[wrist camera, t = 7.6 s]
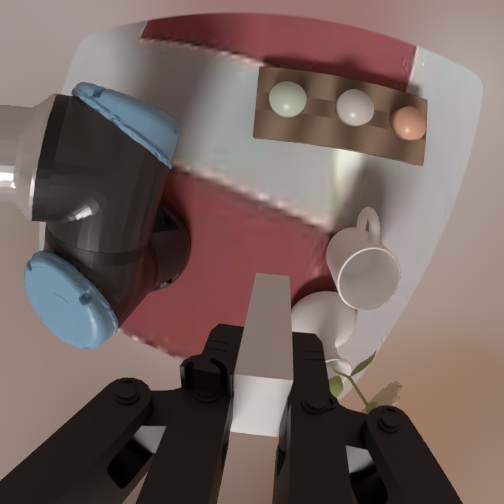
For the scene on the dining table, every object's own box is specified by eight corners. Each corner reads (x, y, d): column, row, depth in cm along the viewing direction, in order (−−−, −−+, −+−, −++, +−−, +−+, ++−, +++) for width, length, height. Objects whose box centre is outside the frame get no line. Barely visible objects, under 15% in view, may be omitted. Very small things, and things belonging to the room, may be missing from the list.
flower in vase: (311, 354, 48) (322, 476, 24) (273, 312, 46) (262, 442, 22) (373, 315, 44) (425, 430, 20) (339, 266, 42) (391, 382, 18)
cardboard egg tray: (255, 138, 37) (253, 136, 34) (261, 72, 34) (259, 66, 31) (414, 164, 36) (423, 165, 33) (418, 102, 32) (427, 99, 29)
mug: (333, 196, 39) (350, 209, 29) (385, 205, 38) (415, 221, 28) (320, 274, 43) (330, 307, 33) (369, 279, 42) (390, 312, 32)
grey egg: (330, 124, 32) (337, 120, 28) (333, 93, 31) (339, 85, 27) (363, 130, 32) (373, 127, 28) (365, 99, 31) (375, 93, 27)
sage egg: (269, 118, 34) (267, 113, 30) (271, 88, 33) (270, 79, 29) (302, 121, 34) (305, 117, 30) (304, 91, 32) (307, 83, 28)
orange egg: (384, 136, 33) (396, 135, 29) (386, 107, 32) (397, 102, 28) (411, 143, 33) (425, 143, 29) (413, 115, 31) (426, 111, 27)
